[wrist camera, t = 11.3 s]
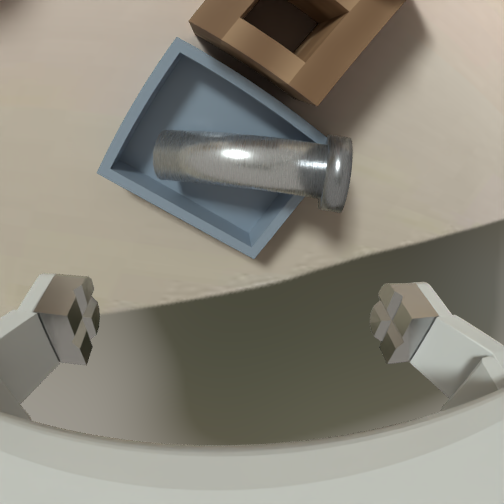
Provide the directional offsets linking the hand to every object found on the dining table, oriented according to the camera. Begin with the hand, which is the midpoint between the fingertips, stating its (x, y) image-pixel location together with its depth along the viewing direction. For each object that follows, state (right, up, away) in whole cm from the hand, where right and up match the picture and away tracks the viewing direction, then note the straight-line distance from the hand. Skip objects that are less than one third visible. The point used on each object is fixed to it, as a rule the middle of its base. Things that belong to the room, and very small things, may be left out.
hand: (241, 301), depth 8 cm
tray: (-2, +9, +15) cm, 18 cm away
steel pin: (-6, +8, +13) cm, 16 cm away
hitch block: (+4, +21, +9) cm, 23 cm away
